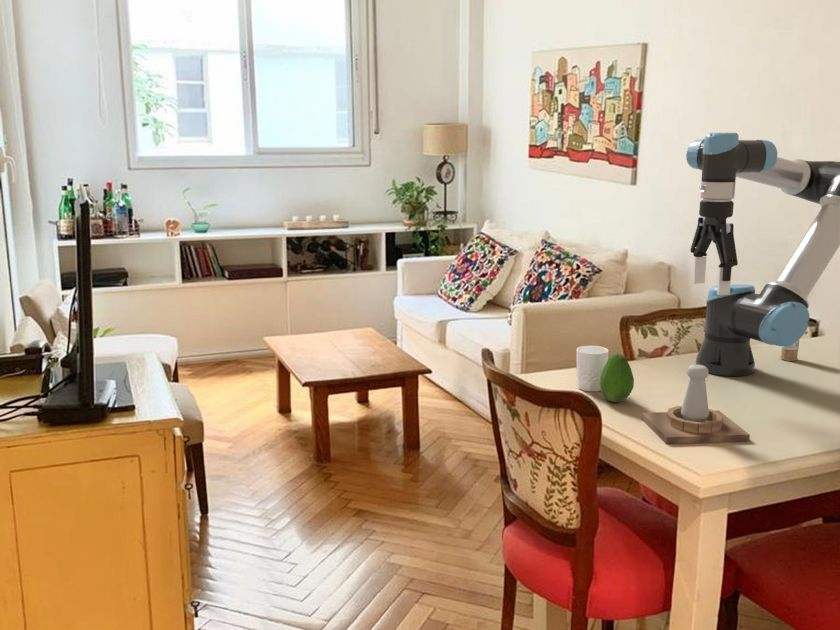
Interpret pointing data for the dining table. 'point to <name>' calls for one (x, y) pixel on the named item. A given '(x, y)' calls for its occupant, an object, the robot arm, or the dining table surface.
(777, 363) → the dining table surface
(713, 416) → the cruet board
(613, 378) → the avocado
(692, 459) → the dining table surface
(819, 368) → the dining table surface
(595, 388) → the white cup
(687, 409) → the salt shaker
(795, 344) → the sprinkles bottle
